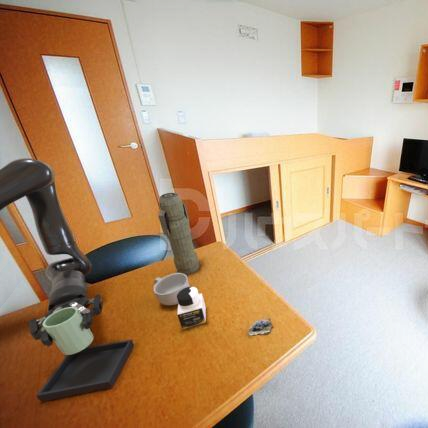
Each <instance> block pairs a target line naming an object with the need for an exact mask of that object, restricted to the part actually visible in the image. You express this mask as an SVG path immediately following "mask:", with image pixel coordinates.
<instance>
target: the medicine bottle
mask: <svg viewBox="0 0 428 428" xmlns="http://www.w3.org/2000/svg"><path fill="white" fill-rule="evenodd" d="M177 300H178V304H177V311H176V312H177V313H176V315H177V318H178V322H179V325H180V327H181V330H185V329H189V328H192V327H196V326H198V325H202V324H205V323H206V322H207V321H206V320H207V310H206V309H207V308H206V307H207V306H206V304H205V300H204V296H203V293H199V290H198V288H197V287H195V286H190V287H186V288H184V289H182V290H180V291H179V293H178V294H177Z"/></svg>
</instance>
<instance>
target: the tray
mask: <svg viewBox="0 0 428 428" xmlns="http://www.w3.org/2000/svg"><path fill="white" fill-rule="evenodd" d="M134 346H135V343H134V341H133V340H132V339H127V340H125V339H124V340H119V341H114V342H108V343H102V344H96V345H88V346H87V347H86V348H85V349H83V350H81V351H80V352H78V353H75V354H72V355H65V357H64V359H62V361H61V362H60V363H59V365H58V367H57V368H56V369H55V370H54V372H53V373H52V374H51V375H50V377H49V378H48V379H47V381H45V383H44V385H43V386H42V387H41V389H40V390H39V391H38V393H37V394H36V395H35V396H36V398H37V399H38V400H39V401H40V402H47V401H53V400H58V399H62V398H67V397H73V396H79V395H83V394H87V393H92V392H97V391H102V390H107V389H112V388H113V387H114V385H115V383H116V382H117V379H118V377H119V375H120V373H121V372H122V370H123V368H124V366H125V364H126V362H127V360H128V358H129V356H130V354H131V352H132V351H133V348H134Z"/></svg>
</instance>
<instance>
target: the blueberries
mask: <svg viewBox="0 0 428 428" xmlns="http://www.w3.org/2000/svg"><path fill="white" fill-rule="evenodd" d="M273 326H274V325H273V324H272V322H271V318H262V319H259V320H256V321H254V322H253V323H252V324H251V326H250V327H249V328H248V330H247V334H248V335H249V336H257V335H263V334H264V335H267V334H269V333H271V331H272V329H273V328H272V327H273Z"/></svg>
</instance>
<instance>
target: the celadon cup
mask: <svg viewBox="0 0 428 428" xmlns="http://www.w3.org/2000/svg"><path fill="white" fill-rule="evenodd" d="M42 325H43V326H44V328H45V329H46V331H47V332H48V333H49V335H50V336H51V338H52V339H53V342H54V343H55V345H56V346H57V348H58V349H59V351H60V352H61V353H62V355H64V356H67V355H72V354H75V353H78V352H80V351H81V350H83V349H85V348H86V347H89V346H90V345H91V344H92V342H93V341H94V334H93V333H92V331H91V329H90V328H89V329H87V330H86V329H85V327H84V325H83V317H82V315H81V314H80V312H79V310H78V309H77V308H76V307H67V308H64V309H61V310H58V311H56V312H54V313H53V314H51V315H50V316H48V317H47V318H46V319H45V320H44V322H43V324H42Z"/></svg>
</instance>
